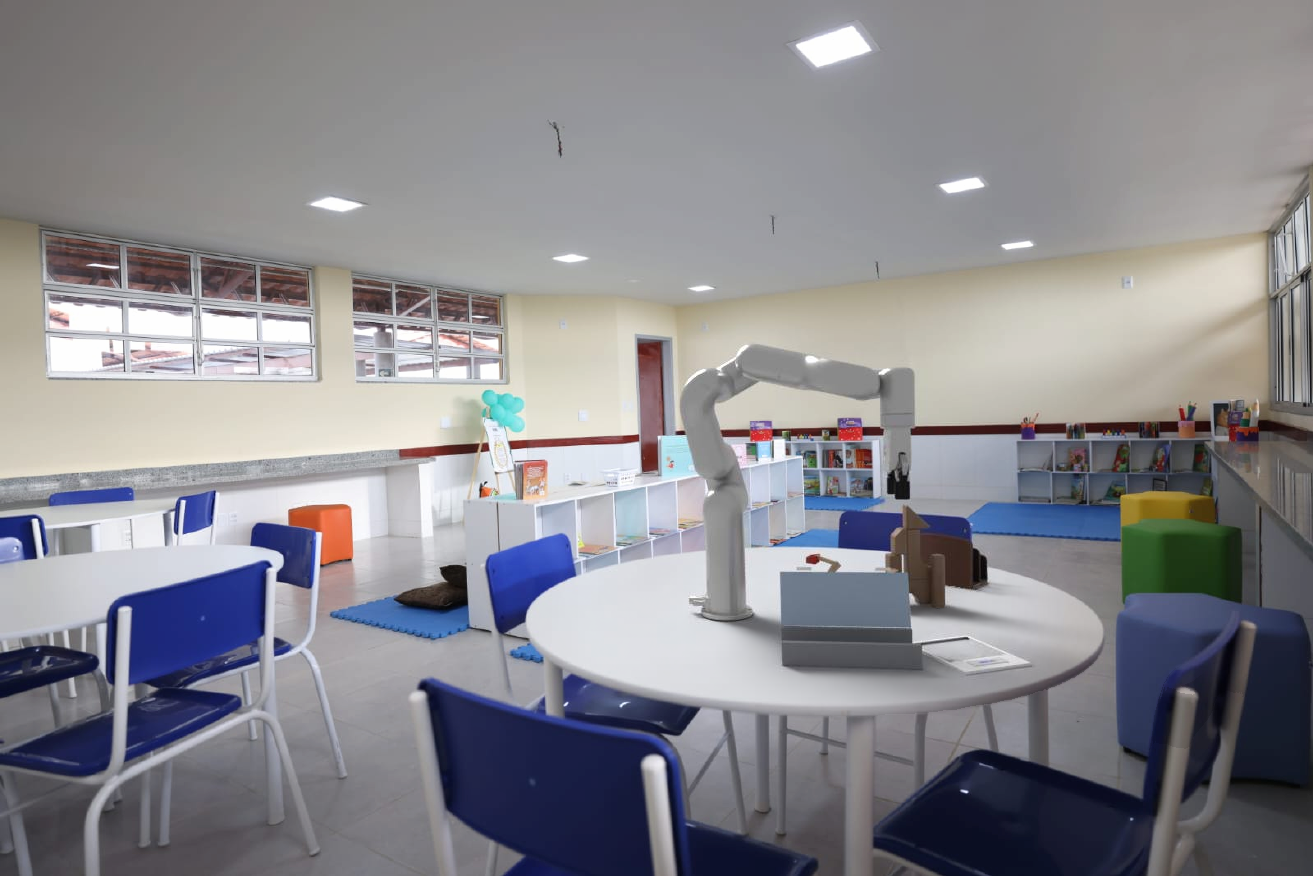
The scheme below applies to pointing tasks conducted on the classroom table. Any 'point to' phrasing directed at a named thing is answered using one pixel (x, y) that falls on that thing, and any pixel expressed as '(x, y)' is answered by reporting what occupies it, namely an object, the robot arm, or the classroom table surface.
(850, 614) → the duct cover
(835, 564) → the toy fire truck
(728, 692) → the classroom table surface
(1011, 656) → the photo frame
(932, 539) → the letter holder
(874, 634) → the cable duct
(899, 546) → the wooden toy
